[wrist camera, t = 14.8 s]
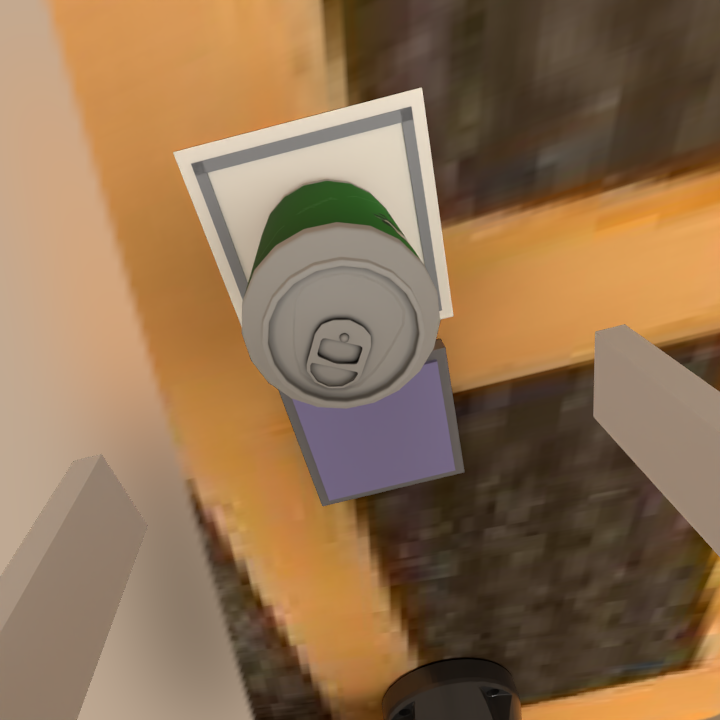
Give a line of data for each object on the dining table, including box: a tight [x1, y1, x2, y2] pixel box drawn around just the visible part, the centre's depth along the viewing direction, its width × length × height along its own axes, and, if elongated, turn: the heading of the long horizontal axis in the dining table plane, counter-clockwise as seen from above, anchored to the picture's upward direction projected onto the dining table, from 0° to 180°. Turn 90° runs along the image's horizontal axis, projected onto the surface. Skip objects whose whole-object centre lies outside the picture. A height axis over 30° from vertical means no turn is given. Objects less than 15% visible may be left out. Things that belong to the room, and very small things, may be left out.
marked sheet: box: [173, 88, 453, 327], centre depth 28 cm, size 13×13×1 cm
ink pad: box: [278, 339, 464, 506], centre depth 34 cm, size 11×11×2 cm
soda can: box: [242, 179, 440, 409], centre depth 22 cm, size 8×8×12 cm
